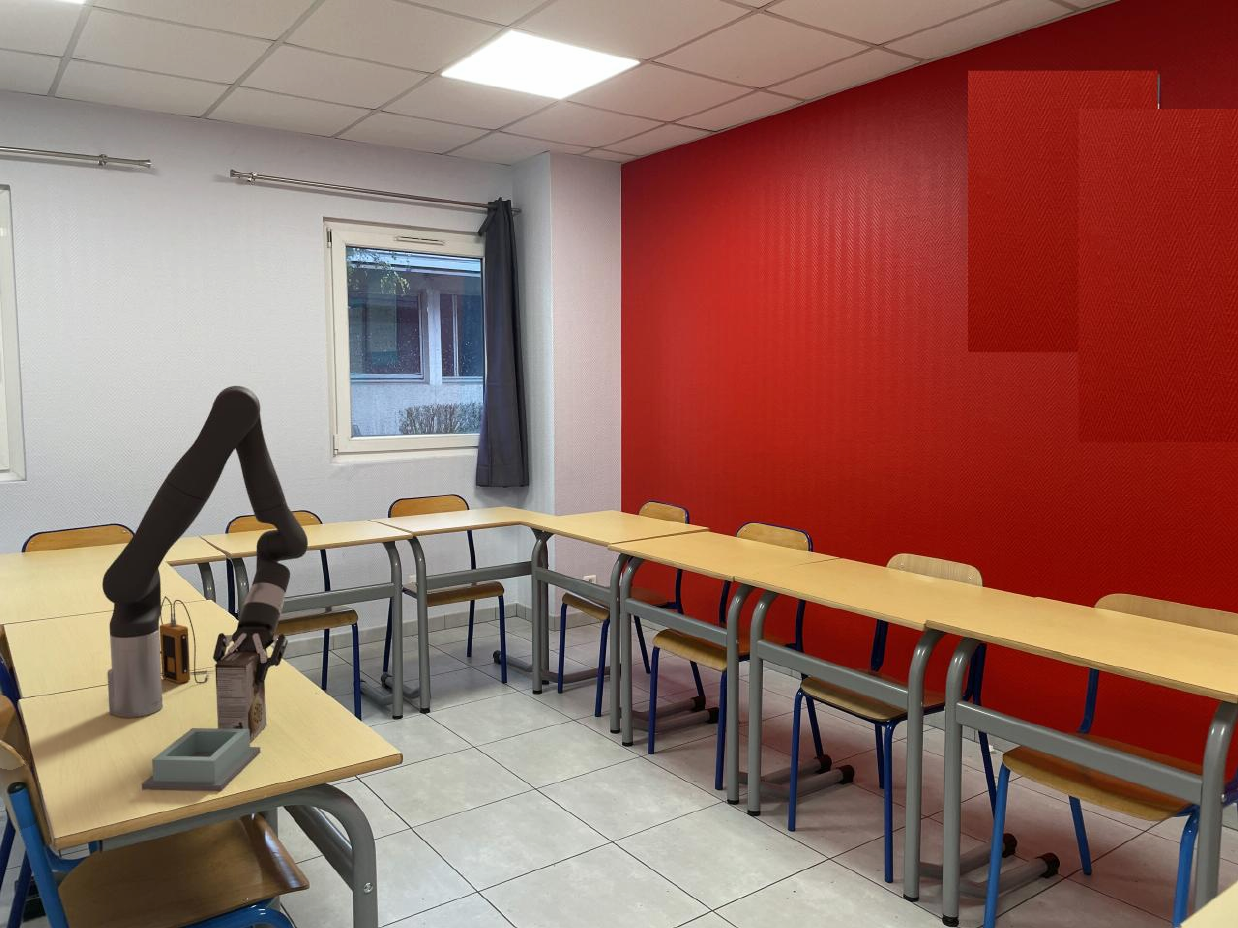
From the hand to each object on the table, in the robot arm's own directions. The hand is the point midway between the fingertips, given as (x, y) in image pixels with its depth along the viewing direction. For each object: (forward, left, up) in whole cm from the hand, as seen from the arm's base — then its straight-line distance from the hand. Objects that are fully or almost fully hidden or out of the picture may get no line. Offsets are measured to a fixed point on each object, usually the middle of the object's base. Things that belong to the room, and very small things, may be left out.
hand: (239, 682), depth 179 cm
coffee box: (0, +1, -11) cm, 11 cm away
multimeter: (-28, +35, -11) cm, 46 cm away
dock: (0, -15, -11) cm, 19 cm away
